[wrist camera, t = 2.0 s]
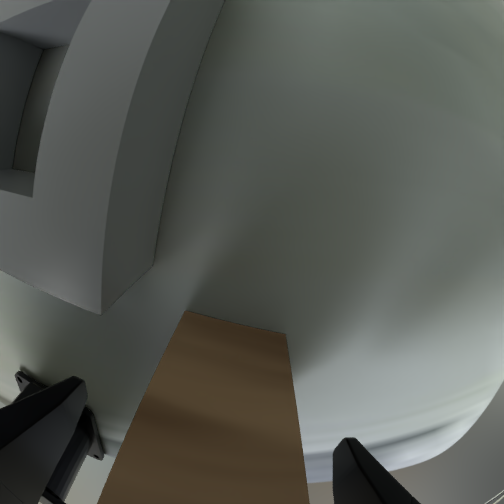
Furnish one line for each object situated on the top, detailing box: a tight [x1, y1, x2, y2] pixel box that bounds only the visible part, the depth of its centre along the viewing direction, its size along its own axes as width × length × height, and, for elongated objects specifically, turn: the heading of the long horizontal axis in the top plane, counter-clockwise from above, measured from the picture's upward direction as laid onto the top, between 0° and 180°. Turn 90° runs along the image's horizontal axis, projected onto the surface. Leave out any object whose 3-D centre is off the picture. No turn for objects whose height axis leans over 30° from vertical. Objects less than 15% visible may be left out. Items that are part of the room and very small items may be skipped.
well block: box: [0, 0, 225, 315], centre depth 6 cm, size 11×11×4 cm
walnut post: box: [97, 311, 310, 504], centre depth 6 cm, size 4×4×10 cm
